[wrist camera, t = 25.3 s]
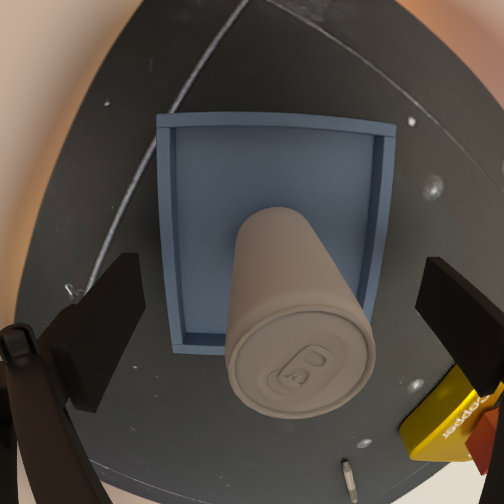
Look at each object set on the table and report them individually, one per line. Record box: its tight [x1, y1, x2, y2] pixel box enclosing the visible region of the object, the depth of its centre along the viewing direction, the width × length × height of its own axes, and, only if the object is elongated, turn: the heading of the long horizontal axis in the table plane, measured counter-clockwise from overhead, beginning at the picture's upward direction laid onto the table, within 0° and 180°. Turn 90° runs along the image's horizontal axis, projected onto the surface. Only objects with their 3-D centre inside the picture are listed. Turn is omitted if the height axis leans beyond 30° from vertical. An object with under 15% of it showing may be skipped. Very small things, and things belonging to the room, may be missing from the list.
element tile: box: [399, 363, 504, 462], centre depth 25 cm, size 15×15×5 cm
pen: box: [343, 462, 357, 503], centre depth 32 cm, size 1×14×1 cm, turn 18°
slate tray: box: [156, 112, 396, 355], centre depth 20 cm, size 16×14×2 cm
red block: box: [464, 408, 499, 476], centre depth 21 cm, size 5×5×5 cm
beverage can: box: [225, 207, 376, 419], centre depth 15 cm, size 5×5×12 cm
